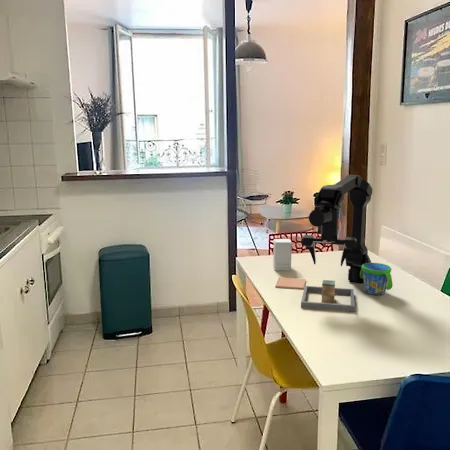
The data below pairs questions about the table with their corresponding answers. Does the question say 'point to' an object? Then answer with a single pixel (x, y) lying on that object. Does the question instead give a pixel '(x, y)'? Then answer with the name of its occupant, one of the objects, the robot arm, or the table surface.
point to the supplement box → (282, 254)
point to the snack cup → (376, 278)
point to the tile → (290, 283)
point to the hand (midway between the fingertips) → (328, 265)
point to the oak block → (328, 291)
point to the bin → (328, 305)
